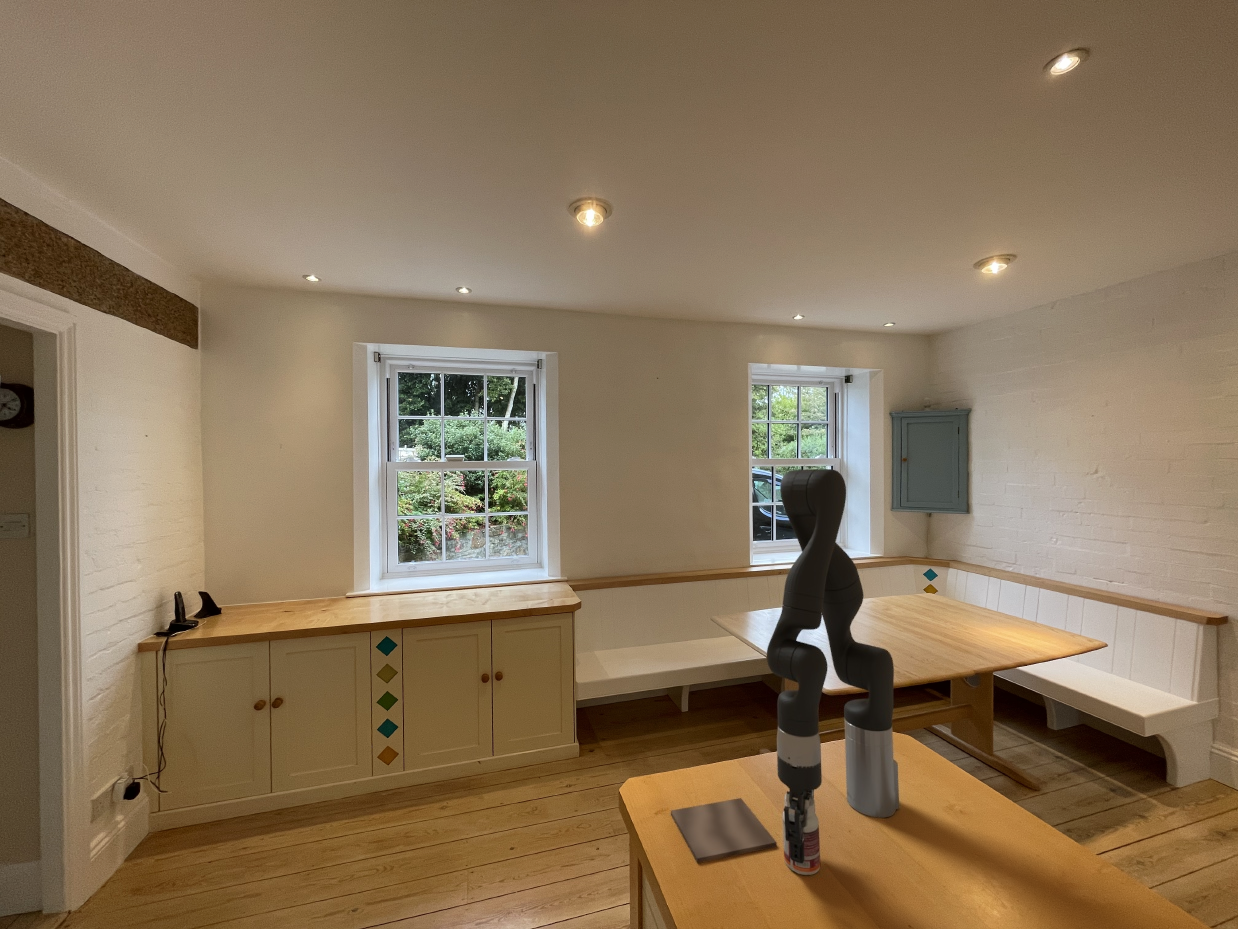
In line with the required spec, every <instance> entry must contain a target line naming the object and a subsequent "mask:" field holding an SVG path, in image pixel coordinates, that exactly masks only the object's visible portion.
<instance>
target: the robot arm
mask: <svg viewBox="0 0 1238 929" xmlns="http://www.w3.org/2000/svg"><path fill="white" fill-rule="evenodd" d="M779 490H780V491H779V492H780V497H781V498H780V499H781V503H782V506H783V509H784V511H785V514H786V516H787V518H788V520H789V523H790V526H791V527H792V530H793V532H794V534H795V537H796V538H797V541H798V543H799V546H800V547H799V548H800V549H801V553H800V554H799V556H798V557H797V559H796V560H795V562H794V563H793V564H792V566H791V568H790V569H789V570H788V573H787V575H786V579H785V584H784V589H783V590H784V591H783V596H782V608H781V613H780V615H779V618H778V620H777V624H776V626H775V628H774V631H773V633H772V635H771V637H770V640H769V643H768V646H767V649H766V662H767V665H768V668H769V669H770V671H771V672H772V673H773V674H774V675H776V676H777V677H780V678H784V679H786V680H789V681H792V682H795V683H798V690H797V689H790V690H788V689H787V690H784V691H782V692H781V693H779V695H778V698H777V704H776V705H777V706H776V707H777V732H776V756H777V757H776V758H777V759H776V760H777V761H776V762H777V765H776V766H777V777H778V779H779V781H780V782H781V783H782V784H783V785H785V786H786V787H787V788H788V789H789V791H788V790H787V791H786V793H787V794H786V793H785V795H786V802H787V806H785V805H784V808H783V811H784V817H785V834H786V835H785V838H786V841H790V858H791V860H793V861H795V862H798V863H801V864H802V863H803V862H804V839H805V838H804V828H805V827H806V826H807V825H808V809H809V807H810V802H811V799H814V800H815V792H814V791H816V790H817V789H819V788H820V786H821V785H822V782H823V781H822V780H823V779H822V778H823V775H822V750H821V748H822V746H821V739H820V730H819V729H820V728H819V707H820V702H821V697H822V692H823V689H824V685H825V682H826V678H827V673H828V661H827V658H826V655H825V654H824V652H823V651H822V649H821V648H819V647H818V646H816V645H814V644H810V643H807V642H803V641H799V640H797V639H798V636H799V635H800V633H801V632H802V631H804V630H812V631H814V630H817V629H819V628H820V627H821V624H822V619H823V622H824V627H825V630H826V635H827V640H828V645H829V648H830V654H831V661H832V663H833V667H834V668H833V669H834V672H835V674H836V676H837V678H838V679H839V680H840V681H841V682H842V683H843V684H845V685H848V686H851V687H855V688H858V689H860V690H864V691H867V692H868V698H860V699H859V698H858V699H856V698H855V699H851V700H850V701H849V700H848V701H847V702H846V703H845V704H844V707H843V709H844V710H843V713H844V714H843V715H844V716H843V718H844V745H845V746H844V749H845V751H844V752H845V776H846V777H845V783H846V800H847V801H846V802H847V803H848V804H849V806H851V808H853V809H854V810H856V811H857V812H859V813H861V814H863V815H865V816H868V817H872V818H879V819H880V818H888V817H892V816H893V815H894V814H895V812H896V811H897V810H900V790H899V789H900V788H899V764H898V762H897V761H896V760H895V758H894V737H893V714H894V684H895V683H894V679H895V677H894V676H895V674H894V673H895V672H894V671H895V667H894V666H895V665H894V661H893V660H894V659H893V657H892V655H891V653H890V652H889V651H888V650H887V649H886V648H883V647H880V646H879V647H878V646H875V645H872V644H867V643H862V642H858V641H855V639H854V638H853V635H852V632H851V626H852V623H853V621H854V619H855V617H856V616H857V614H858V612H859V610H860V609H861V607H862V604H863V601H864V596H865V595H864V589H863V585H862V581H861V578H860V575H859V572H858V571H859V570H858V567H857V566H856V564H855V563H854V560H853V559H852V558H851V557H850V556H849V554H847V553H846V551H845V550H844V549H843V548H842V547H841V546H840V545H839V544H838V543H837V539H838V534H839V530H840V527H841V523H842V518H843V514H844V510H845V506H846V500H847V486H846V482H845V479H844V476H843V475H842V474H841V473H840V472H839V471H838V470H836V469H832V468H825V469H824V468H816V469H813V468H812V469H811V468H810V469H794V470H790V471H787V472H785V474H783V475H782V478H781V481H780V489H779ZM896 809H897V810H896ZM803 814H804V820H803V821H802V820H801V816H802V815H803ZM794 831H795V832H794Z"/></svg>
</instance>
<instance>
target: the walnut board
mask: <svg viewBox="0 0 1238 929" xmlns="http://www.w3.org/2000/svg"><path fill="white" fill-rule="evenodd" d="M670 816H671V818H672V820H673V821H674V823H675V825H676V827H677V828H678V831H679V833H680V834H681V836H682V837H683V838H682V839H683V840H684V841H685V843H686V845H687V847H688V848H689V851H690V852H691V854H692V855H693V858H694V859H695V862H696V863H697V864H700V863H704V862H708V861H713V860H717V859H724V858H729V857H732V856H738V855H743V854H747V853H753V852H757V850H758V851H761V850H762V851H763V850H766V849H767V850H768V849H771V848H777V844H778V843H777V841H776V840H775V837H773V836H772V835H771V833H770V832H769V831H768V830H767V828H766V827H765V826H764V825H763V823H762V822H761V821H760V820H759V819H758V817H757V816H756V815H755V814H754V813H753V811H752V810H751V809H750V807H749V806H748V805H747V804H746V803H745V801H744V800H743V798H742V797H740V798H738V797H737V798H734V799H729V800H728V799H726V800H723V801H717V802H711V803H706V804H705V803H704V804H701V805H694V806H689V807H688V806H687V807H682V808H677V809H672V810H670Z"/></svg>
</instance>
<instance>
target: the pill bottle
mask: <svg viewBox="0 0 1238 929" xmlns="http://www.w3.org/2000/svg"><path fill="white" fill-rule="evenodd" d="M786 794H787V792H786V793H785V794H784V807H785V806H787V802H786ZM815 802H816V801H815V798H814V799H811V802H810V807H809V809H808V825H807V826H806V827H805V828H804V838H805V839H804V862H803V863H802V864H801V863H798V862H795V861H793V860H791V858H790V841H786V838H785V835H786V834H785V817H784V810H783V812H782V838H783V859H784V863H785V864H786V866H787V867H788V868H789V869H790V870H791V871H793V872H794V873H797V874H799V875H803V876H804V875H805V876H809V875H810V876H811V875H814V874H817V873H818V872H819V870H821V869H820V868H821V850H820V824H819V823H820V821H819V817H818V816H817V814H816V803H815ZM801 820H802V821H803V820H804V814H803V815H802V816H801ZM794 832H795V831H794Z"/></svg>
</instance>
